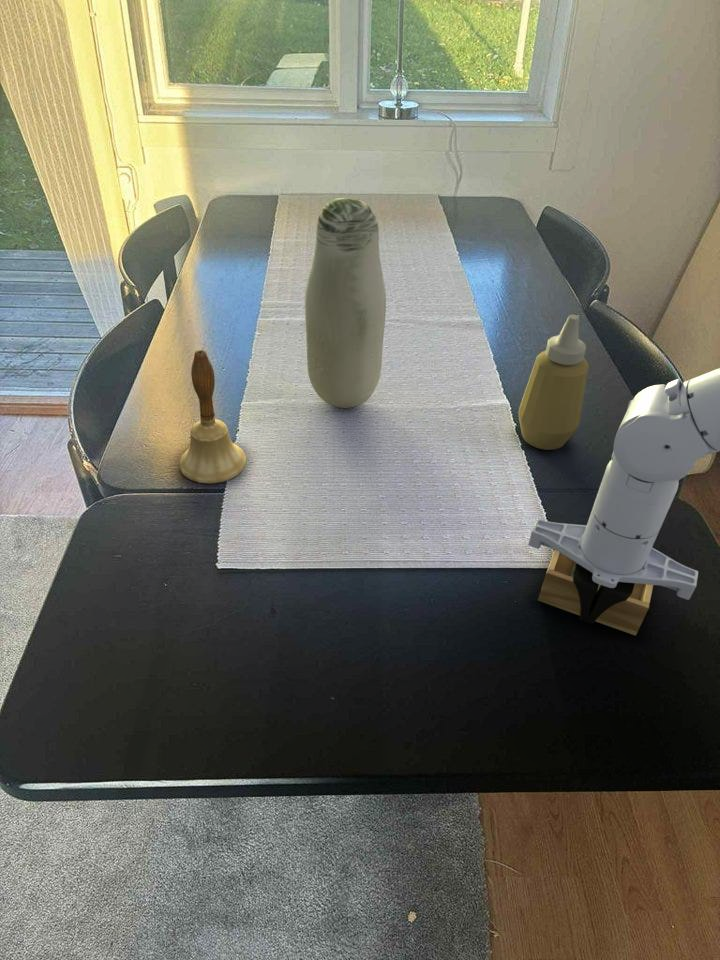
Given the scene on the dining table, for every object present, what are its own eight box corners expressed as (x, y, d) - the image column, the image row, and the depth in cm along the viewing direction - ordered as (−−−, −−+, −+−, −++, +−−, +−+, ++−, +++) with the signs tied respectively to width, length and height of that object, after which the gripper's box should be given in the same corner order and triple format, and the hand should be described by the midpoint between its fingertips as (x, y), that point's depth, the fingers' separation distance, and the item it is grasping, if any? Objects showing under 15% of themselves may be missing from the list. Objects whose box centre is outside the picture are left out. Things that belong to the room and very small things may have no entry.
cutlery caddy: (635, 635, 70) (648, 608, 67) (537, 600, 73) (546, 572, 70) (647, 581, 76) (659, 553, 73) (555, 550, 79) (564, 522, 76)
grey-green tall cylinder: (294, 395, 100) (287, 196, 82) (350, 372, 105) (355, 180, 87) (336, 428, 95) (338, 223, 76) (393, 403, 100) (408, 204, 81)
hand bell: (220, 434, 93) (207, 327, 83) (259, 464, 89) (250, 354, 78) (166, 461, 89) (145, 351, 78) (205, 493, 84) (187, 381, 74)
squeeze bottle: (569, 422, 97) (603, 303, 86) (577, 459, 91) (614, 336, 79) (511, 417, 98) (536, 298, 86) (515, 453, 92) (542, 331, 80)
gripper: (532, 517, 60) (505, 616, 69) (712, 576, 55) (658, 674, 64) (552, 469, 64) (524, 568, 73) (718, 520, 60) (668, 619, 69)
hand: (588, 614), depth 69 cm, fingers closed, pressing on cutlery caddy
